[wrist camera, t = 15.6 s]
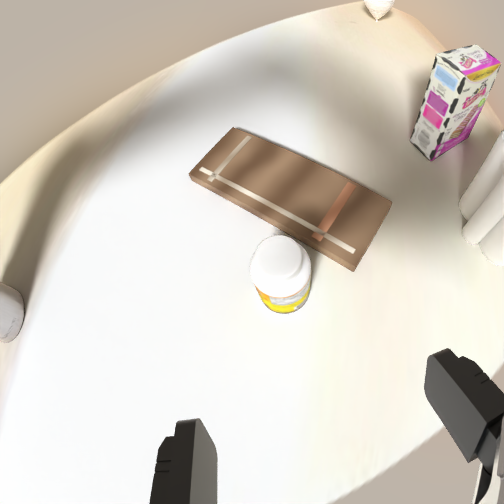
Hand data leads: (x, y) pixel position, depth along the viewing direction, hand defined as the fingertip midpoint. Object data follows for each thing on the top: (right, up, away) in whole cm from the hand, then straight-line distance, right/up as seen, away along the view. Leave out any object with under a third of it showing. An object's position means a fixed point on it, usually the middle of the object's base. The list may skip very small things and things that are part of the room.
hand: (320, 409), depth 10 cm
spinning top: (+28, +61, +49) cm, 83 cm away
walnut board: (+2, +13, +32) cm, 34 cm away
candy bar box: (+27, +22, +32) cm, 47 cm away
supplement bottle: (+1, +1, +27) cm, 27 cm away
